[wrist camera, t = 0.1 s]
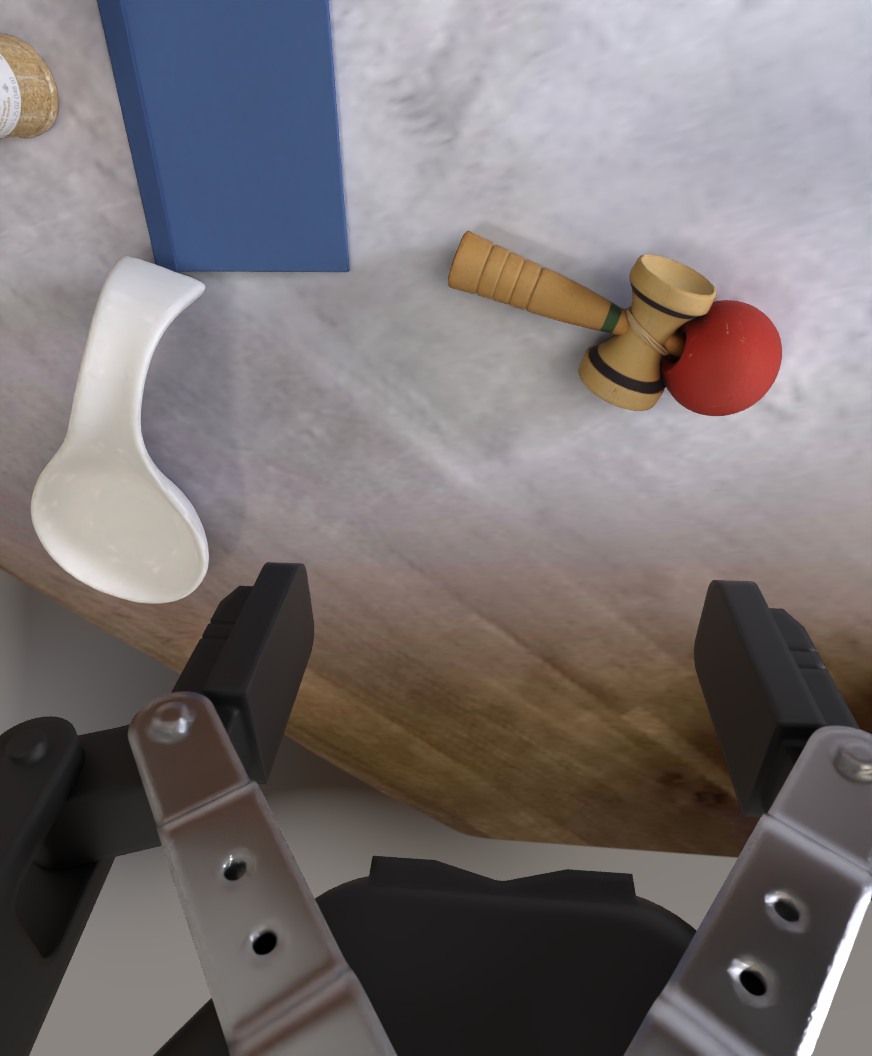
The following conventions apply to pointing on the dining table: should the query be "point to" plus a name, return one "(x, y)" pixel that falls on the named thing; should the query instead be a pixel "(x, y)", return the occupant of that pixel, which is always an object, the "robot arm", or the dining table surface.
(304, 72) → the blue flat rectangular slab
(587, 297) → the kendama
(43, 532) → the spoon rest
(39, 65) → the spice jar
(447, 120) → the dining table surface
